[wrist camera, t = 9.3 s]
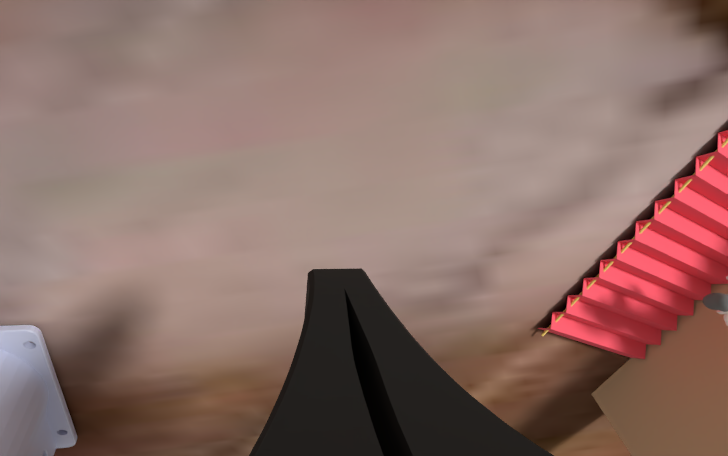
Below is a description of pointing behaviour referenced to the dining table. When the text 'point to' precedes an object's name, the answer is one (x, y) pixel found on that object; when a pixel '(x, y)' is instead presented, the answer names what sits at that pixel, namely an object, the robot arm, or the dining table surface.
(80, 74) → the dining table surface
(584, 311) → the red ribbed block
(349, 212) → the dining table surface
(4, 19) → the dining table surface
